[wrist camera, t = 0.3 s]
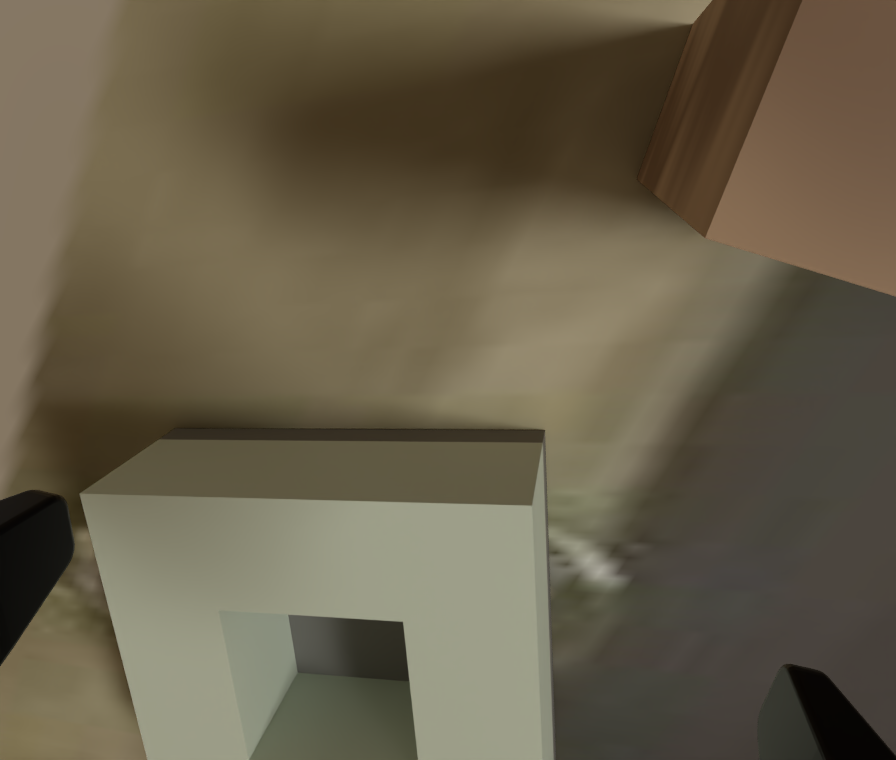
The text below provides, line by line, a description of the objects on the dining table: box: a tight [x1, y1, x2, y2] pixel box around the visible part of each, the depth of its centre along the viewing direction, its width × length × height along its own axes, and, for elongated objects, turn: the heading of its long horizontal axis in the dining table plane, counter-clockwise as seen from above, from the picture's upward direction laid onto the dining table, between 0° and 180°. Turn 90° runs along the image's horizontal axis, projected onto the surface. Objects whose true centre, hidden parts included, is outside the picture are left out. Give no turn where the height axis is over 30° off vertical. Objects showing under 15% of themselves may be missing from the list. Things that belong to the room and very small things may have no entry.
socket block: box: [80, 428, 556, 760], centre depth 23 cm, size 13×13×5 cm
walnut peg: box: [637, 0, 896, 296], centre depth 13 cm, size 4×4×13 cm
